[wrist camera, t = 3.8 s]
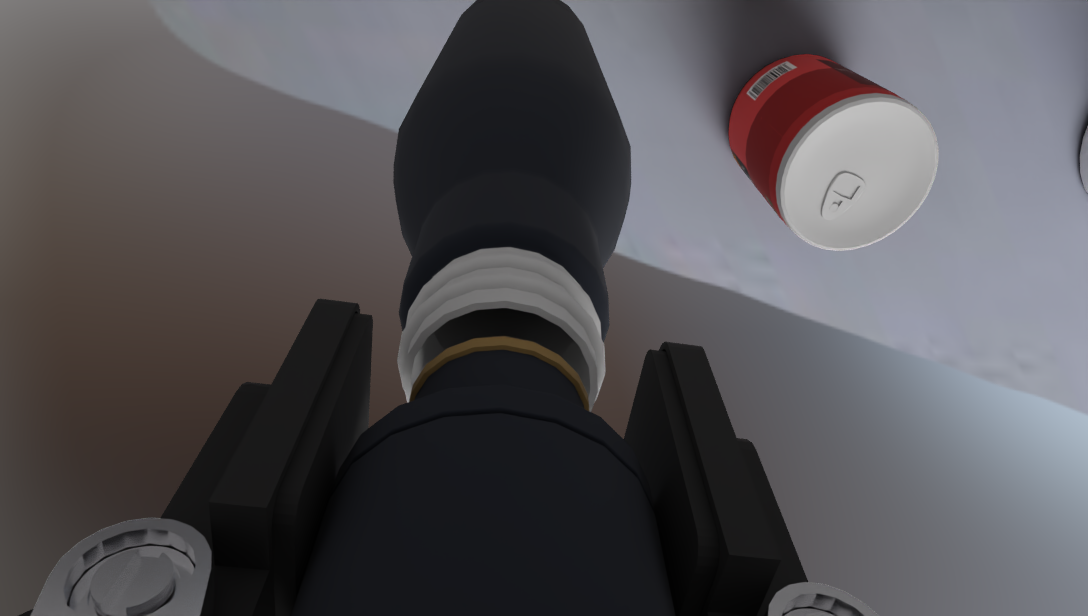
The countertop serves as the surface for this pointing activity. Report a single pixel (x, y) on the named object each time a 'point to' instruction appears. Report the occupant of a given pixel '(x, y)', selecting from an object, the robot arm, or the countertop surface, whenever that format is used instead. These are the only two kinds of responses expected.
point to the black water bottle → (500, 352)
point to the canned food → (832, 151)
